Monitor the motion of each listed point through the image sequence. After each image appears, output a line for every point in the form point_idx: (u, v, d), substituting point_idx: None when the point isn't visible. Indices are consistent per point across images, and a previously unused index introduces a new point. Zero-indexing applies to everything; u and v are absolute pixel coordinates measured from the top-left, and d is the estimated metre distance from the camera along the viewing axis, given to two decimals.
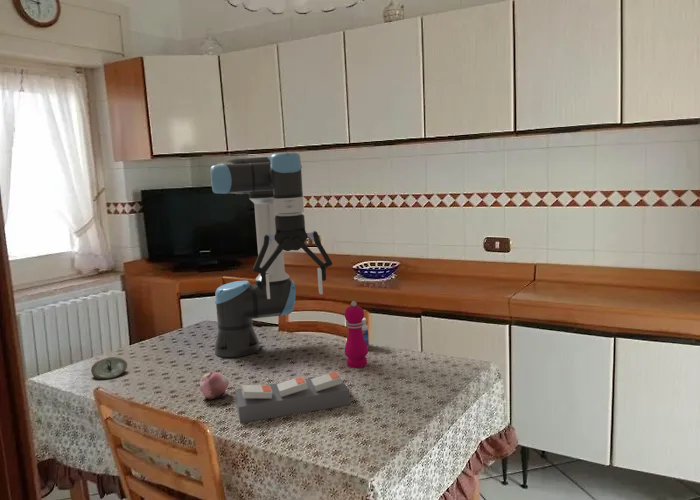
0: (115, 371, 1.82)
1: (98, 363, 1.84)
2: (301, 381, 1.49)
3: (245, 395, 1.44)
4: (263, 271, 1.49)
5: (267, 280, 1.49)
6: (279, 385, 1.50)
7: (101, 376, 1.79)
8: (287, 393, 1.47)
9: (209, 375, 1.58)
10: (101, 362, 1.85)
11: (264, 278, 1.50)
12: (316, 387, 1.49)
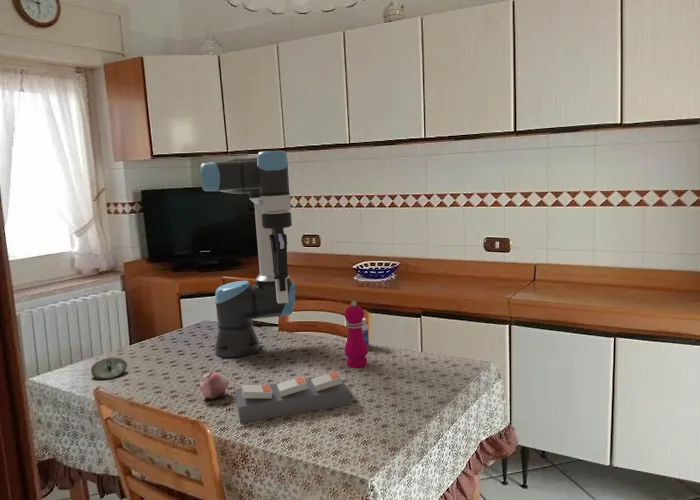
0: (115, 372, 1.82)
1: (98, 364, 1.84)
2: (301, 381, 1.49)
3: (245, 395, 1.44)
4: (274, 274, 1.53)
5: (275, 283, 1.53)
6: (279, 385, 1.50)
7: (101, 376, 1.79)
8: (287, 393, 1.47)
9: (209, 375, 1.58)
10: (101, 363, 1.85)
11: None
12: (316, 387, 1.49)
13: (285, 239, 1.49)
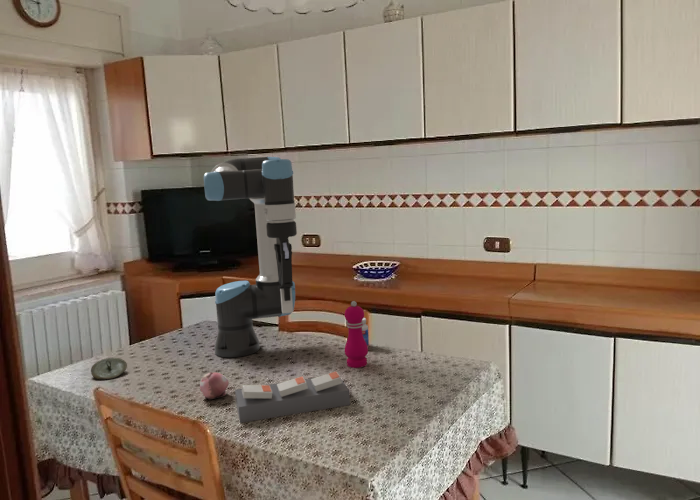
0: (115, 372, 1.82)
1: (98, 364, 1.84)
2: (301, 381, 1.49)
3: (245, 395, 1.44)
4: (280, 284, 1.51)
5: None
6: (279, 385, 1.50)
7: (101, 376, 1.79)
8: (287, 393, 1.47)
9: (209, 375, 1.58)
10: (101, 363, 1.84)
11: None
12: (316, 387, 1.49)
13: (290, 248, 1.47)
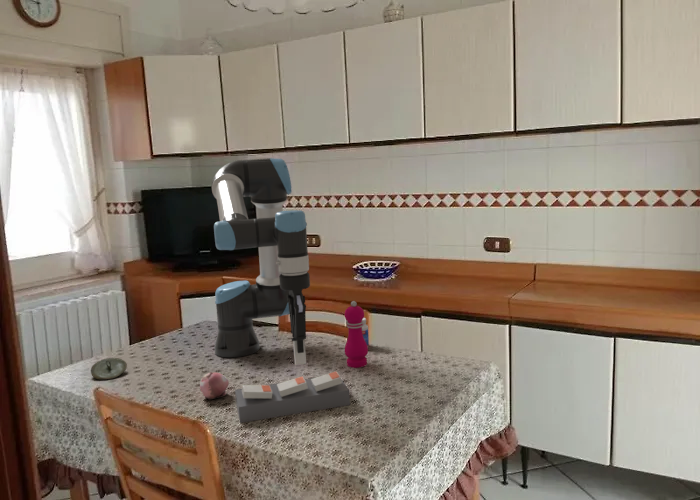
0: (115, 372, 1.81)
1: (98, 364, 1.84)
2: (301, 381, 1.49)
3: (245, 395, 1.44)
4: (292, 335, 1.49)
5: None
6: (279, 385, 1.50)
7: (101, 377, 1.79)
8: (287, 393, 1.47)
9: (209, 375, 1.58)
10: (100, 363, 1.84)
11: None
12: (316, 387, 1.49)
13: (303, 300, 1.46)
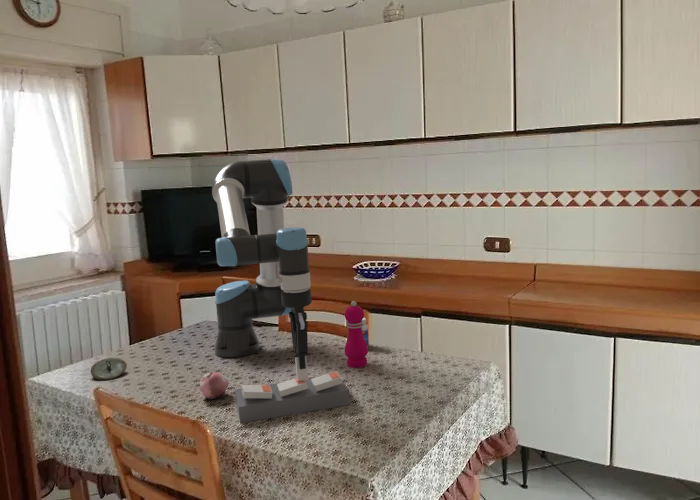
0: (115, 372, 1.81)
1: (97, 364, 1.83)
2: (301, 381, 1.49)
3: (245, 395, 1.44)
4: (294, 351, 1.50)
5: (295, 361, 1.49)
6: (279, 385, 1.50)
7: (101, 377, 1.78)
8: (287, 393, 1.47)
9: (209, 375, 1.58)
10: (100, 363, 1.84)
11: None
12: (316, 387, 1.49)
13: (305, 317, 1.46)
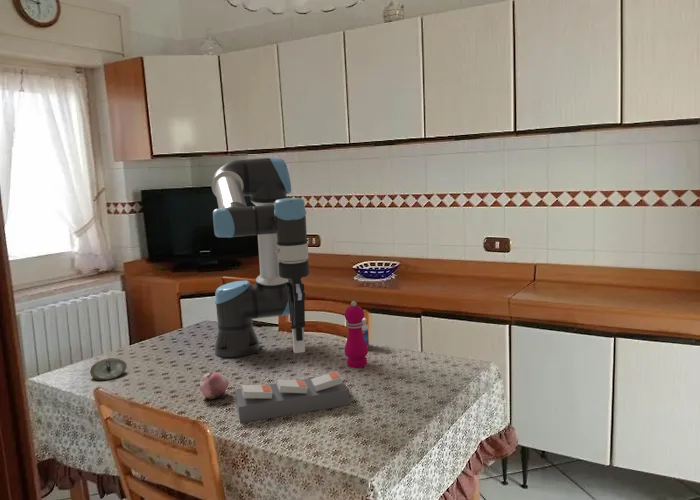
0: (114, 372, 1.81)
1: (97, 364, 1.83)
2: (303, 384, 1.49)
3: (245, 395, 1.44)
4: (291, 323, 1.49)
5: (292, 333, 1.49)
6: (280, 381, 1.50)
7: (100, 377, 1.78)
8: (286, 390, 1.47)
9: (209, 375, 1.58)
10: (100, 363, 1.84)
11: None
12: (316, 387, 1.49)
13: (302, 289, 1.45)
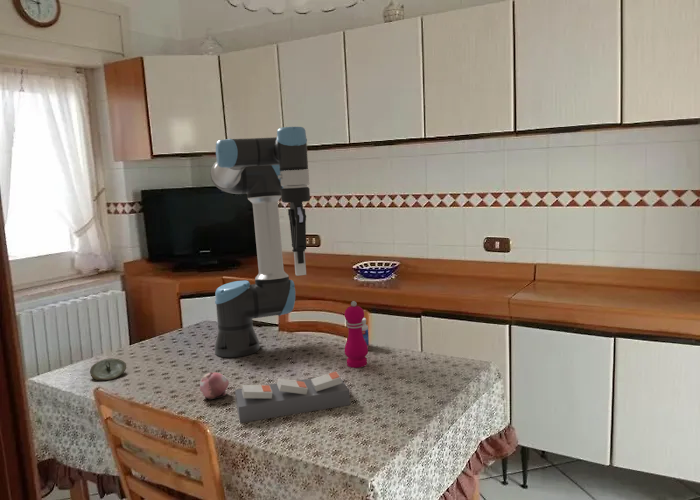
0: (114, 373, 1.81)
1: (97, 365, 1.83)
2: (303, 385, 1.49)
3: (245, 395, 1.44)
4: (293, 247, 1.57)
5: (294, 257, 1.57)
6: (280, 380, 1.50)
7: (100, 377, 1.78)
8: (286, 390, 1.47)
9: (209, 375, 1.58)
10: (100, 364, 1.83)
11: None
12: (316, 387, 1.49)
13: (304, 213, 1.53)
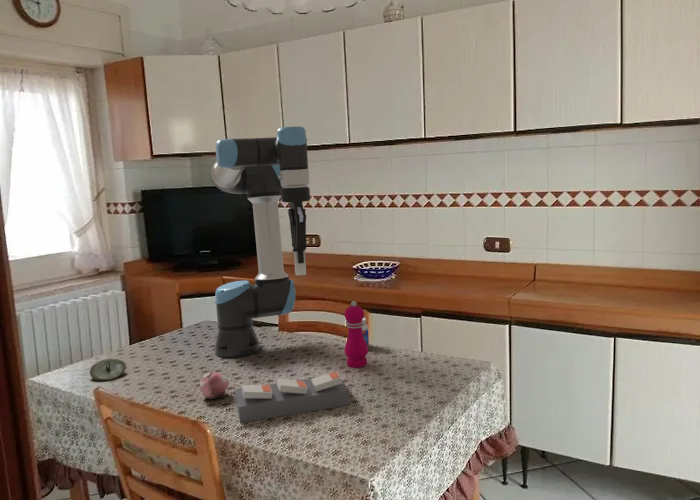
0: (114, 373, 1.81)
1: (97, 365, 1.83)
2: (303, 385, 1.49)
3: (245, 395, 1.44)
4: (293, 247, 1.57)
5: (294, 257, 1.57)
6: (280, 380, 1.50)
7: (100, 378, 1.78)
8: (286, 390, 1.47)
9: (209, 375, 1.58)
10: (99, 364, 1.83)
11: None
12: (316, 387, 1.49)
13: (304, 213, 1.54)
